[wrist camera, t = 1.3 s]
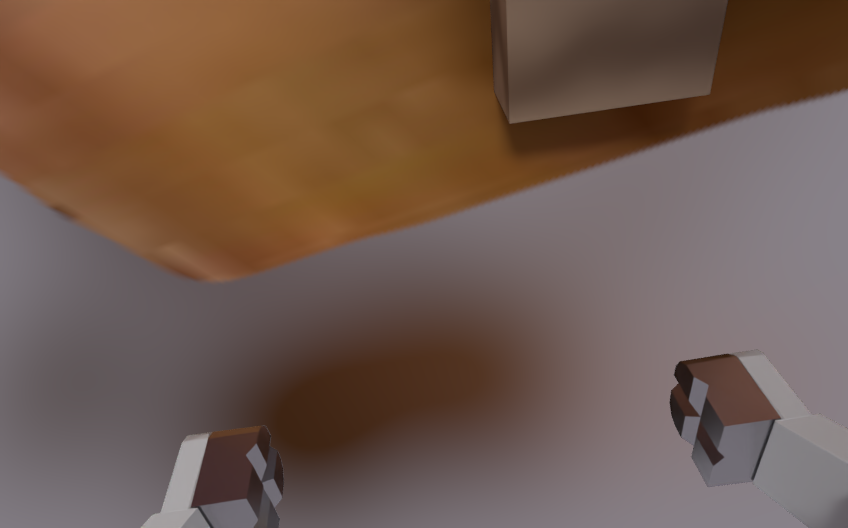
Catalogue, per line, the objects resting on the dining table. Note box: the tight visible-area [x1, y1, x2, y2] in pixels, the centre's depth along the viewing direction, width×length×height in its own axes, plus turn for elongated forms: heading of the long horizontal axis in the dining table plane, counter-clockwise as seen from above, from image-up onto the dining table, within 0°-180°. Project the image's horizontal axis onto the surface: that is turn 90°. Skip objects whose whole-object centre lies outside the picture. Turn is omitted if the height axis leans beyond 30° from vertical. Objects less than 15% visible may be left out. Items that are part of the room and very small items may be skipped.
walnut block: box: [490, 0, 728, 124], centre depth 29 cm, size 6×10×4 cm, turn 97°
